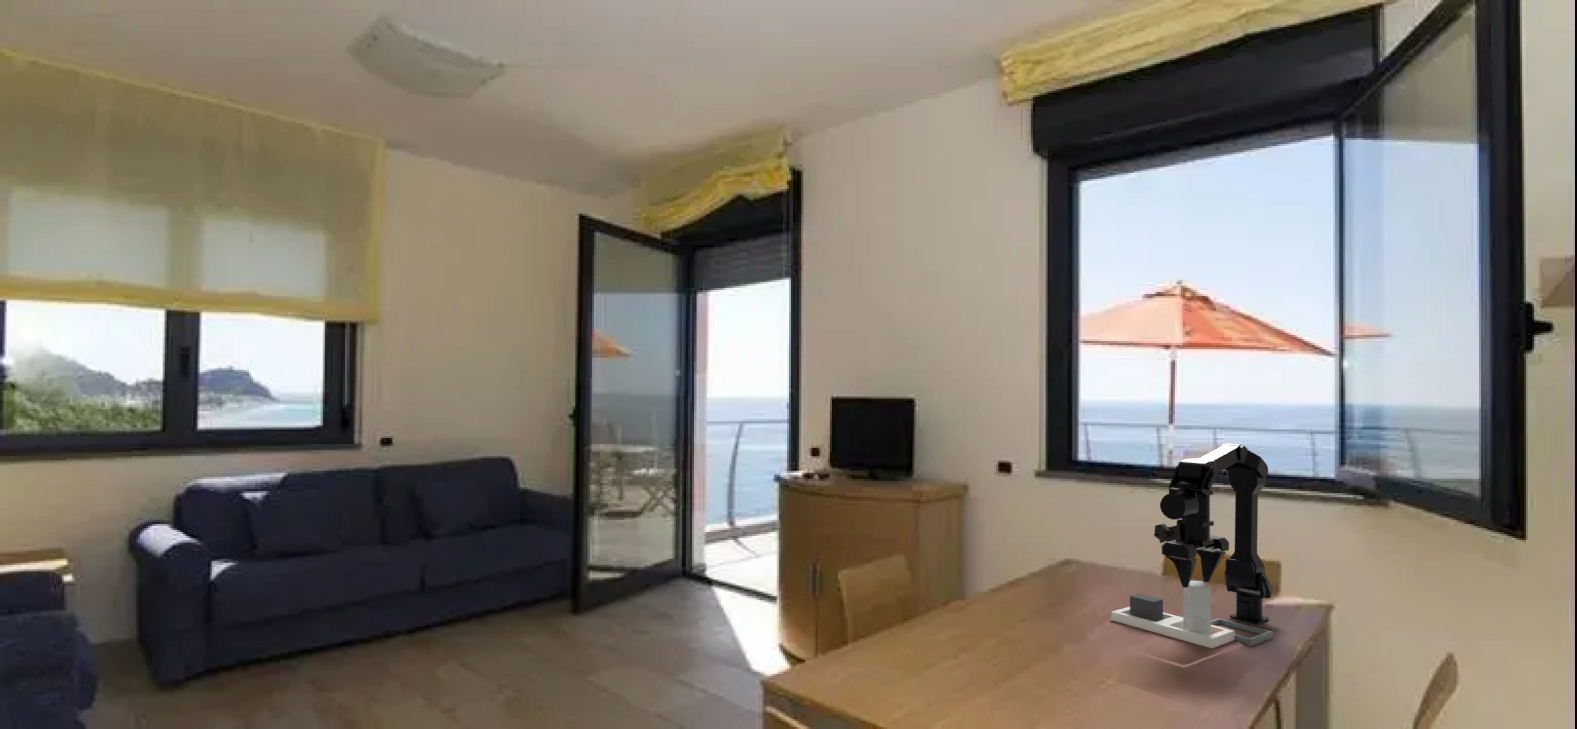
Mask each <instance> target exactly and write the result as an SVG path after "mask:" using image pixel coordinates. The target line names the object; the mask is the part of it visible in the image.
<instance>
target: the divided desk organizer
mask: <svg viewBox="0 0 1577 729" xmlns="http://www.w3.org/2000/svg"><path fill="white" fill-rule="evenodd" d="M1110 614H1111V621H1113V622H1116V623H1120V624H1124V625H1127V626H1131V627H1134V628H1137V629H1141V630H1145V631H1149V632H1151V633H1152V632H1153V633H1156V634H1160V635H1164V636H1166V637H1170V638H1173V639H1178V640H1181V641H1185V642H1188V643H1191V644H1195V645H1199V646H1203V647H1206V648H1210V649H1214V648H1217V647H1219V646H1221V645H1225V644H1227V643H1230V642H1234V641H1236V640H1235V635H1236V632H1235V629H1234V630H1233V629H1229V628H1226V627H1222V626H1218V625H1215V626H1214V625H1211V635H1209V636H1206V635H1203V634H1199V633H1195V632H1192V631H1188V630H1184V629H1183V616H1178V615H1175V614H1170V613H1167V612H1163V620H1160V621H1157V622H1154V621H1151V620H1147V619H1143V618H1139V617H1136V616H1132V615H1130V606H1126V607H1124V608H1123V607H1122V608H1119V609H1116V610H1113V611H1111V612H1110Z"/></svg>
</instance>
